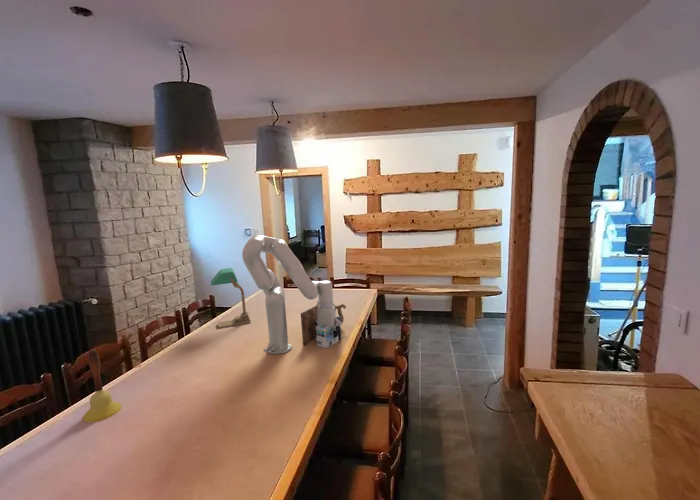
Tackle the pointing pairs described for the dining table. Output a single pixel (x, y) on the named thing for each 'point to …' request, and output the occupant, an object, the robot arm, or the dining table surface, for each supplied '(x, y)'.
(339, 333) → the bookend
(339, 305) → the tankard
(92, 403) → the handbell
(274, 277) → the robot arm
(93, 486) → the dining table surface
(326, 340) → the light bulb box
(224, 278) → the banker's lamp
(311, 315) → the walnut wall
